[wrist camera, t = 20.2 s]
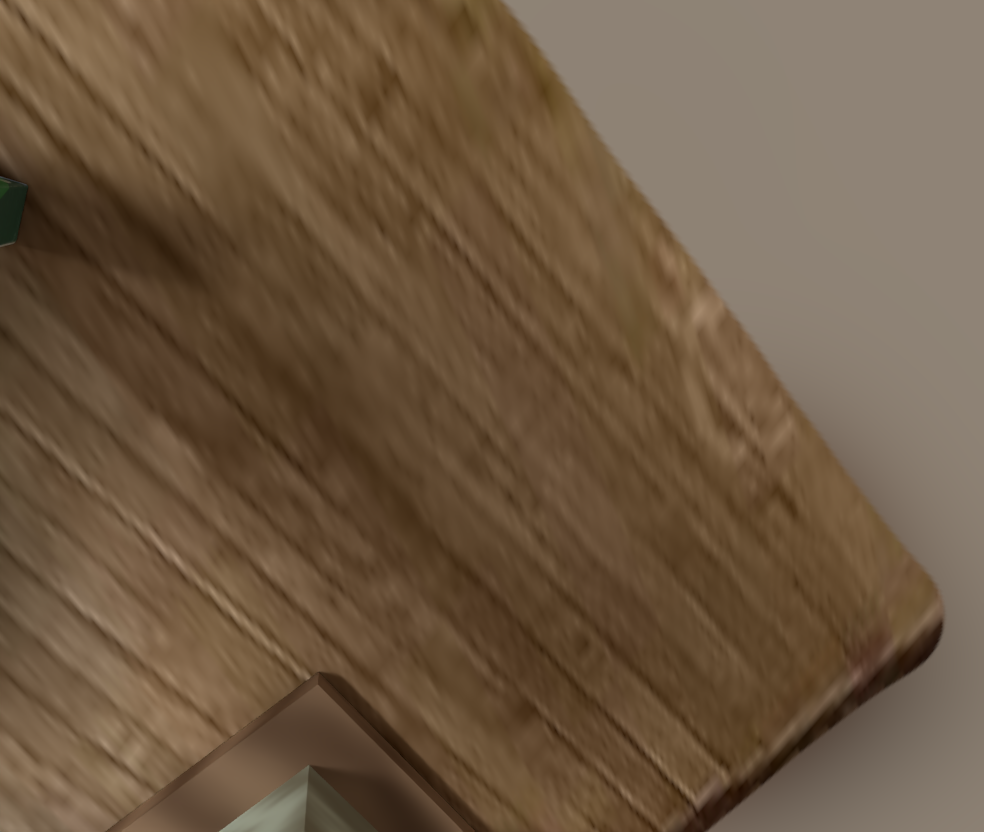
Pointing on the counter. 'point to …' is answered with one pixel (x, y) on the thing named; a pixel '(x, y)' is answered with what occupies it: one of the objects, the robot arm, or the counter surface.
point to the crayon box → (11, 209)
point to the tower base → (284, 755)
